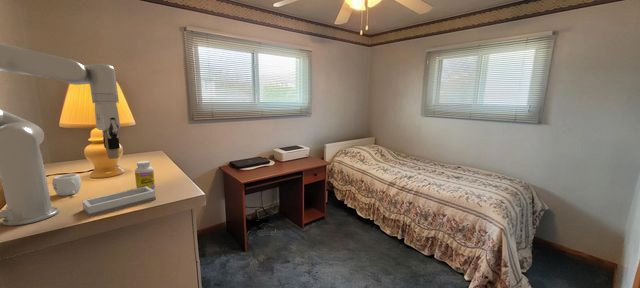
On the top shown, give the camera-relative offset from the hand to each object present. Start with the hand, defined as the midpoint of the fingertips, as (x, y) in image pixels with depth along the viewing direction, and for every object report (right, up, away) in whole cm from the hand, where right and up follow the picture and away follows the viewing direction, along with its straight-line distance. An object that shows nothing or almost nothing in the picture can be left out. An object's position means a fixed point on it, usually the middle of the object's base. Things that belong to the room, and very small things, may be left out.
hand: (112, 147), depth 96 cm
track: (+4, -21, 0) cm, 22 cm away
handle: (0, -4, +1) cm, 4 cm away
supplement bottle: (+3, -19, +15) cm, 25 cm away
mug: (-26, -20, +11) cm, 35 cm away
